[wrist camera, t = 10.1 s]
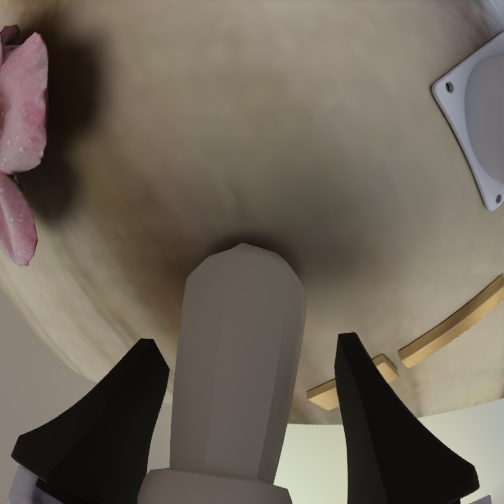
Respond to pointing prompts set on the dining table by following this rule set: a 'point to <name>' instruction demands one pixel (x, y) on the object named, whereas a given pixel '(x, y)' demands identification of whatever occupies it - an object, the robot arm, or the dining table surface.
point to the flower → (20, 136)
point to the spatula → (423, 342)
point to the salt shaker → (232, 381)
